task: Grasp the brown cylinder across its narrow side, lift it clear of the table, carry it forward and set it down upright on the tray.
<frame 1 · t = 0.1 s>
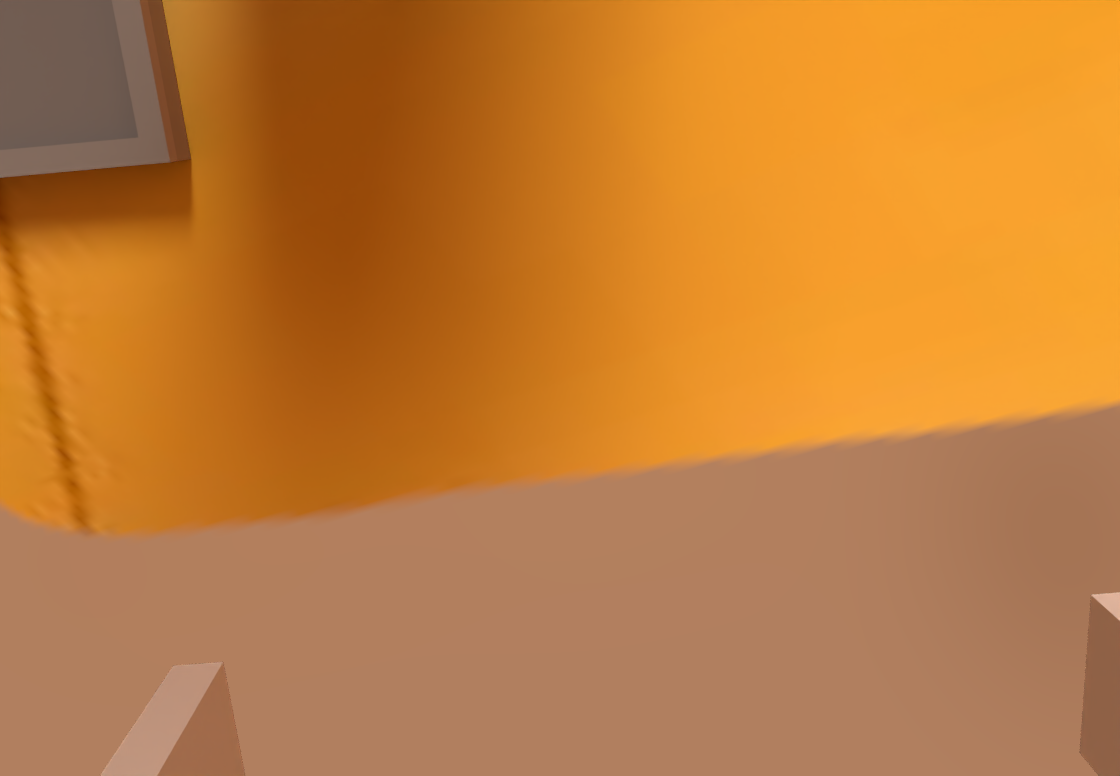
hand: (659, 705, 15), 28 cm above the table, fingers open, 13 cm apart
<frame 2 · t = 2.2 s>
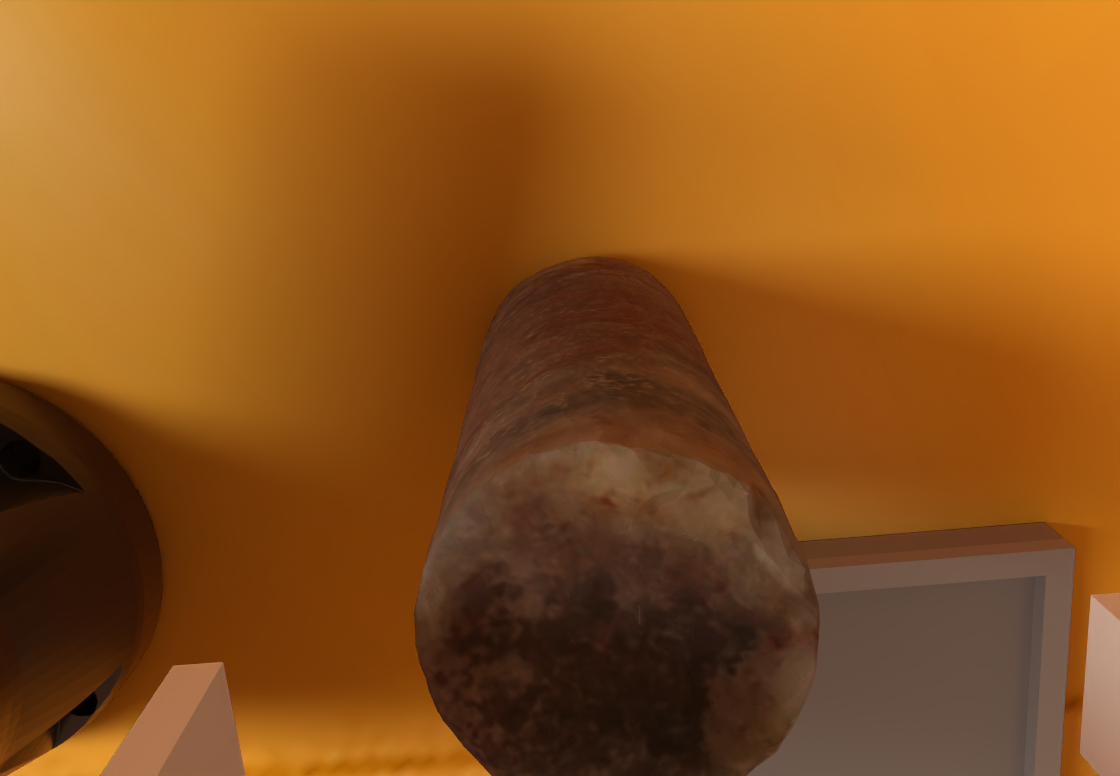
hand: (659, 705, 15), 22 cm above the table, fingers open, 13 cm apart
tray: (835, 721, 40), on the table
brown cylinder: (584, 353, 36), on the table
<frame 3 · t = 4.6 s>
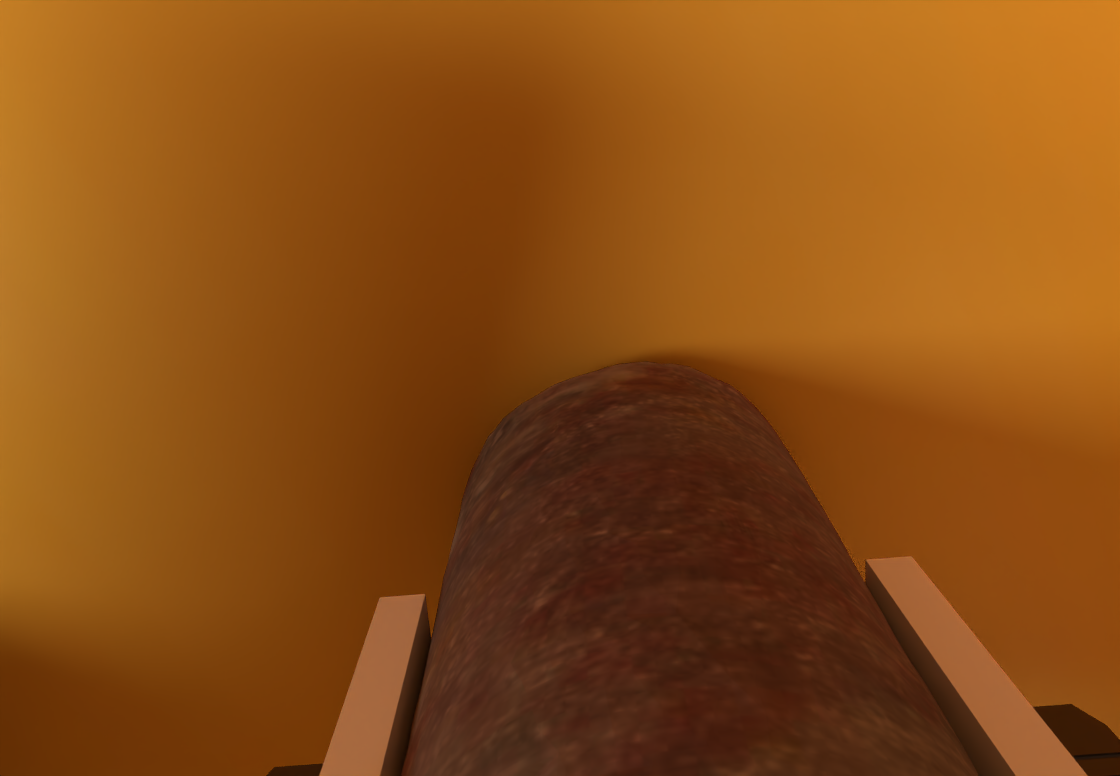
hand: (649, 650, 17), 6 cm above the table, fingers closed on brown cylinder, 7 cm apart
brown cylinder: (621, 505, 23), on the table, touching gripper
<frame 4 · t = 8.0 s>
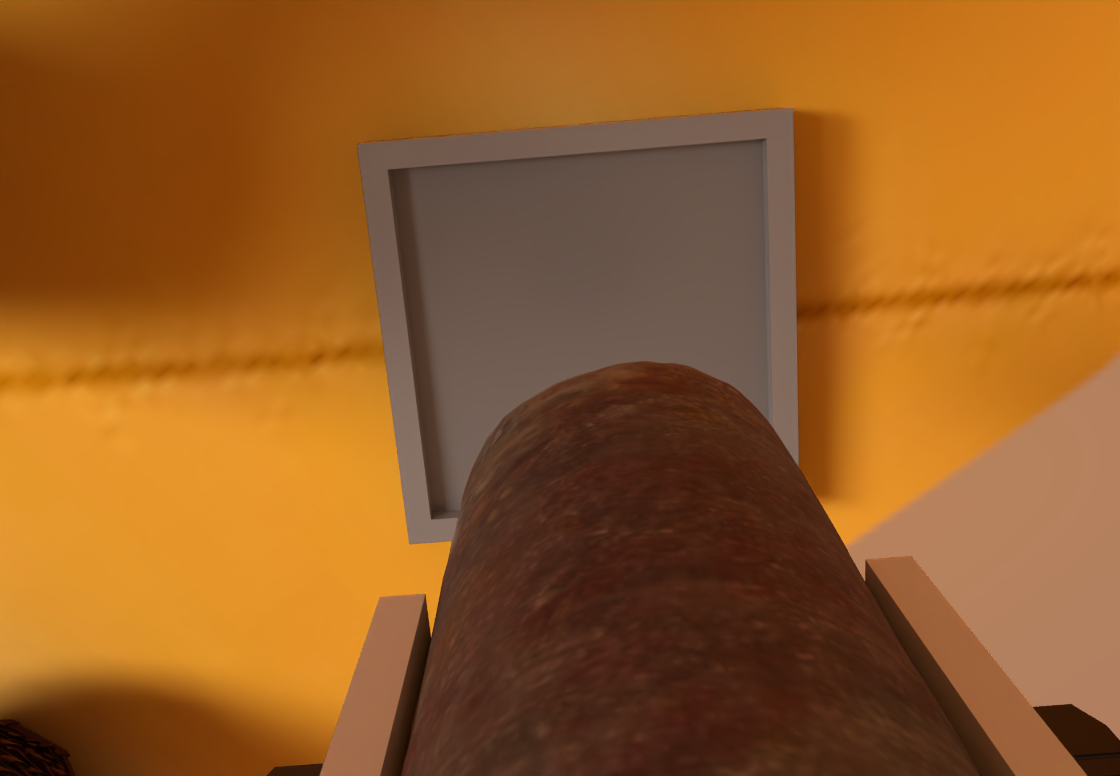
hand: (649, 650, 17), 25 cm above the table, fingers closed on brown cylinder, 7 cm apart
tray: (587, 326, 41), on the table
brown cylinder: (621, 504, 23), point 19 cm above the table, touching gripper
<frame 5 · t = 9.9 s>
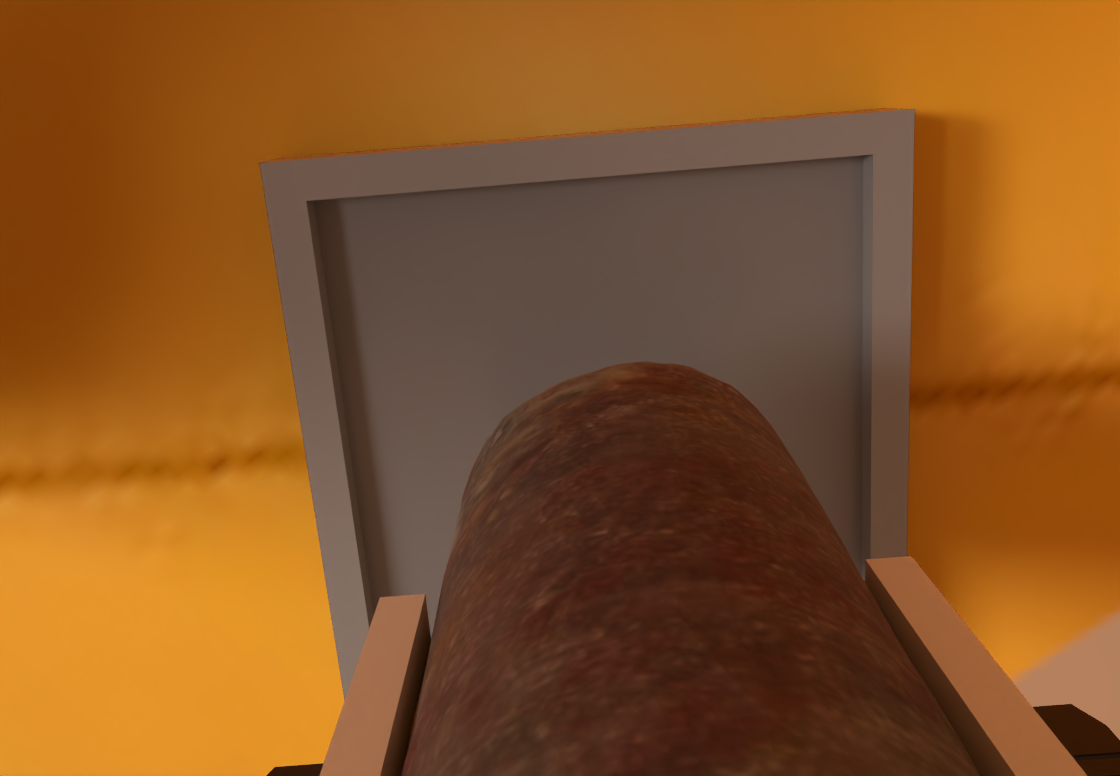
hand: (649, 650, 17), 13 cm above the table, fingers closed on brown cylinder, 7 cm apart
tray: (603, 419, 29), on the table
brown cylinder: (621, 505, 23), point 6 cm above the table, touching gripper
when the fingers open (10 cm above the table, at t = 11.5 s): brown cylinder drops 2 cm, resting on tray.
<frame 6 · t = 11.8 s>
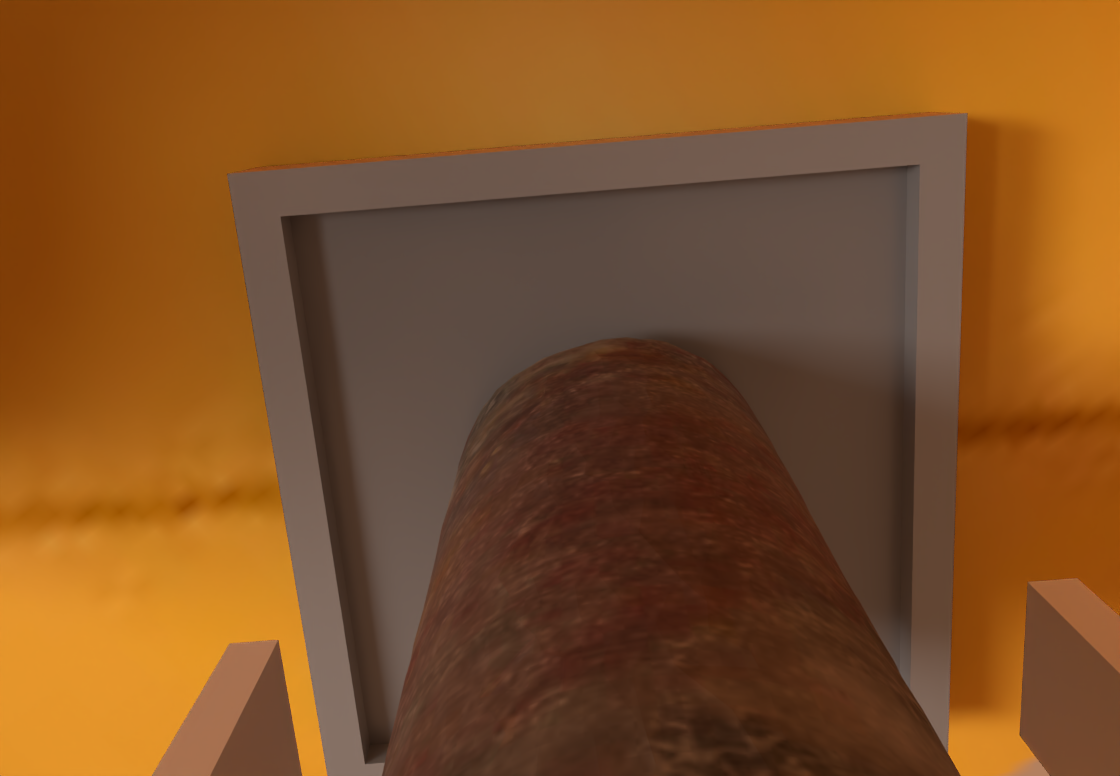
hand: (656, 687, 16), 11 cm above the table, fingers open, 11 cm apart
tray: (613, 456, 26), on the table
brown cylinder: (606, 472, 25), point 1 cm above the table, touching tray
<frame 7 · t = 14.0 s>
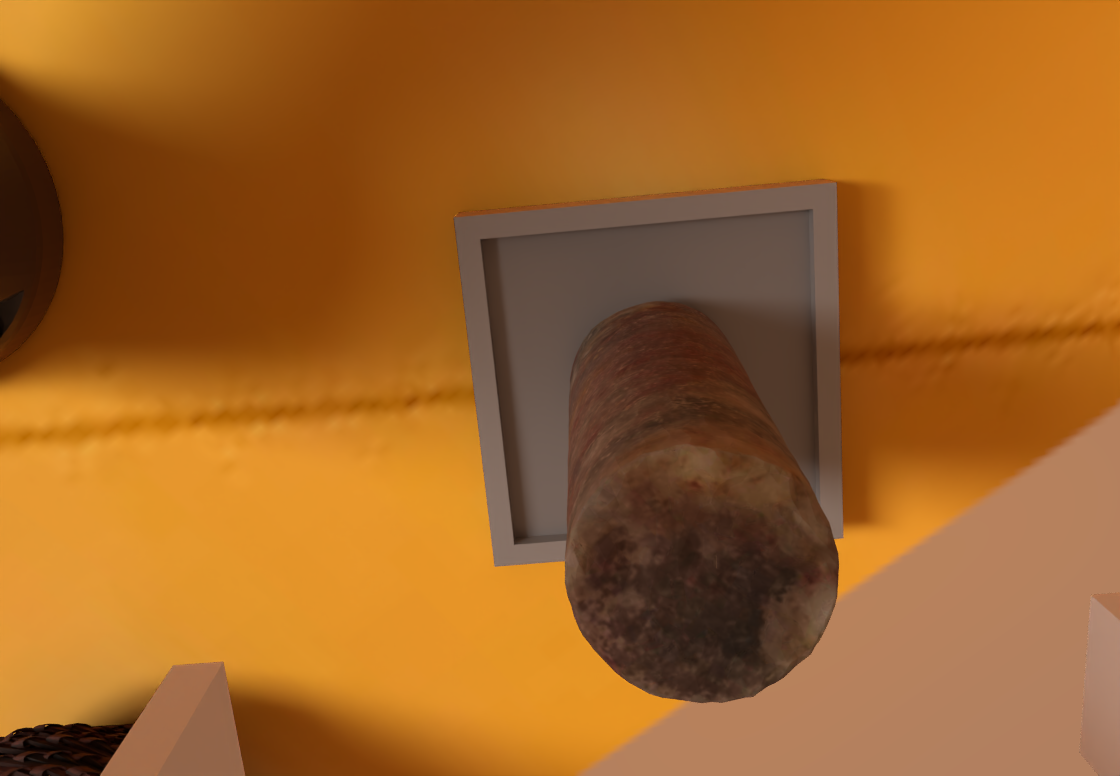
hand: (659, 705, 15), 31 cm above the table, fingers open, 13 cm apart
tray: (652, 371, 46), on the table
brown cylinder: (649, 377, 45), point 1 cm above the table, touching tray
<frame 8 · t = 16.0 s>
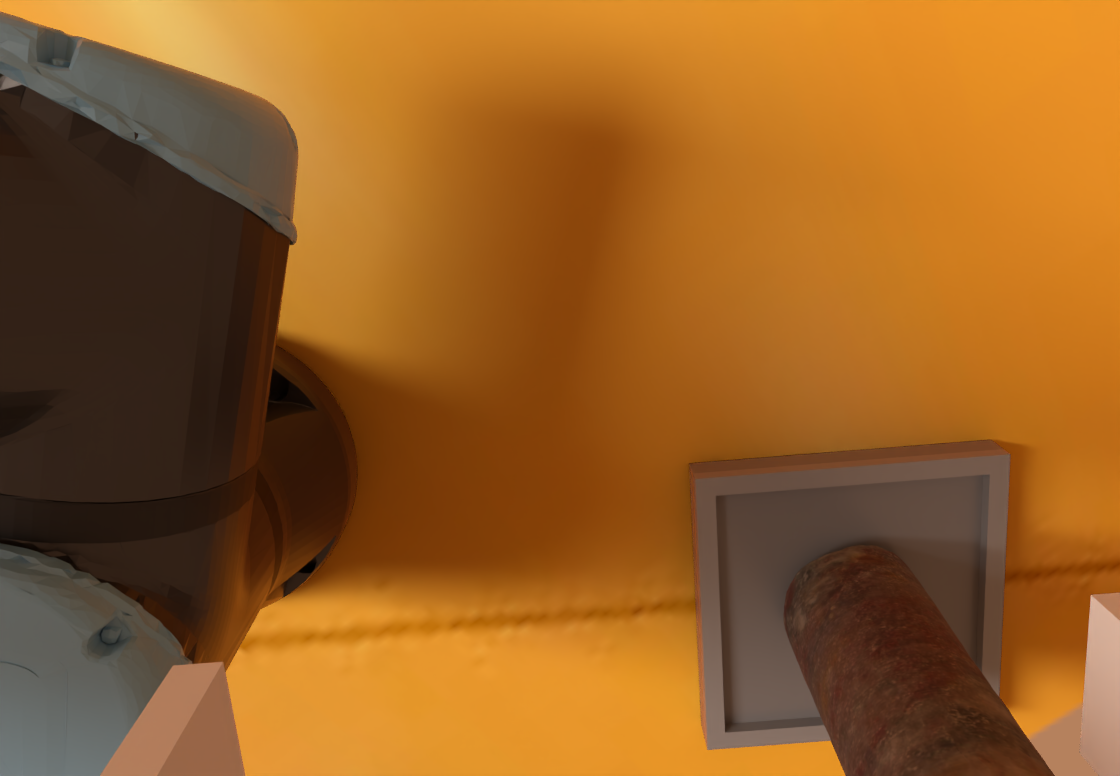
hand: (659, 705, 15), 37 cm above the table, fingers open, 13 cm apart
tray: (840, 588, 55), on the table
brown cylinder: (842, 598, 54), point 1 cm above the table, touching tray
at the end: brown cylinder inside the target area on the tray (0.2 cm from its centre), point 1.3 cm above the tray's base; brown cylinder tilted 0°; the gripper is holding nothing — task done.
